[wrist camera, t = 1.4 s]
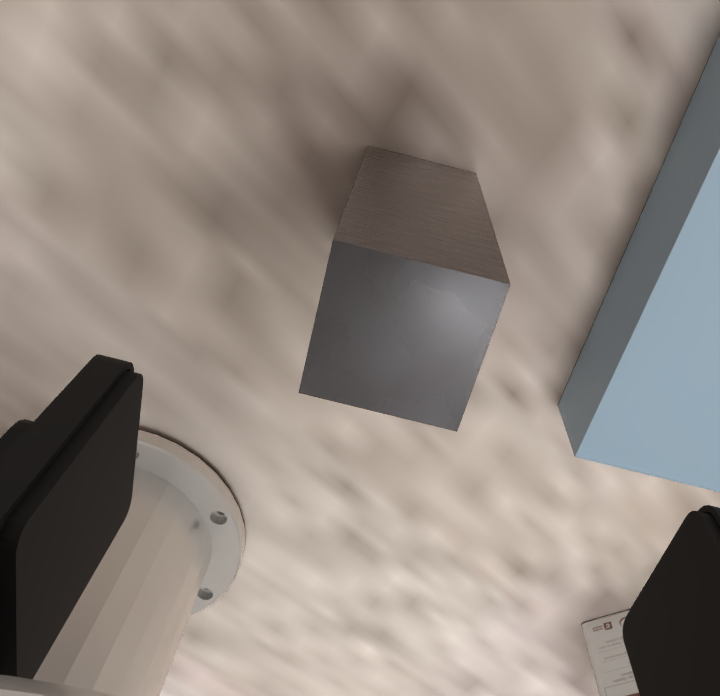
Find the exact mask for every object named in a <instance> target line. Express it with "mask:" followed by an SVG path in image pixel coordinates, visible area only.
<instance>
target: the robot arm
mask: <svg viewBox="0 0 720 696" xmlns="http://www.w3.org/2000/svg"><path fill="white" fill-rule="evenodd" d="M142 389H143V376H142V374H139V373H135V372H134V367H133V364H132V363H131V362H127V361H123V360H119V359H115V358H111V357H107V356H103V355H96V356H94V357H93V358H92V359H91V360H90V361H89V362H88V364H87V365H86V366H85V367H84V368H83V369H82V370H81V371H80V372H79V373H78V374H77V376H76V377H75V378H74V379H73V380H72V381H71V382H70V383H69V384H68V385H67V386H66V387H65V389H64V390H63V391H62V392H61V393H60V394H59V395H58V396H57V397H56V398H55V399H54V401H53V402H52V403H51V404H50V405H49V406H48V407H47V408H46V409H45V410H44V411H43V412H42V414H41V415H40V416H39V417H38V418H37V419H36V420H35V421H34V422H33V421H29V420H25V419H24V420H20V421H18V422H17V423H15V424H14V425H13V426H12V427H11V428H10V429H9V430H8V431H7V432H6V433H5V434H4V435H3V436H2V437H1V438H0V696H159V695H160V692H161V690H162V687H163V684H164V682H165V679H166V676H167V674H168V671H169V669H170V666H171V663H172V661H173V658H174V655H175V653H176V650H177V647H178V645H179V642H180V640H181V637H182V634H183V632H184V629H185V626H186V624H187V621H188V618H189V616H190V615H191V614H194V613H197V612H199V611H201V610H203V609H204V608H206V607H208V606H210V605H211V604H213V603H214V602H215V601H216V600H218V599H219V598H220V597H221V596H222V595H223V594H224V593H225V592H226V591H227V590H228V588H229V587H230V585H231V584H232V582H233V581H234V579H235V577H236V574H237V572H238V569H239V566H240V564H241V561H242V557H243V552H244V547H245V528H244V523H243V520H242V516H241V513H240V509H239V507H238V505H237V503H236V501H235V499H234V497H233V495H232V494H231V492H230V490H229V489H228V487H227V486H226V485H225V484H224V482H223V481H222V480H221V479H220V477H219V476H218V475H217V474H216V473H215V472H214V471H213V470H212V469H211V468H210V467H209V466H207V465H206V464H205V463H204V462H203V461H202V460H201V459H200V458H198V457H197V456H195V455H194V454H192V453H191V452H189V451H188V450H186V449H184V448H183V447H181V446H180V445H178V444H176V443H174V442H171V441H169V440H167V439H165V438H162V437H160V436H158V435H156V434H152V433H149V432H145V431H141V430H139V420H140V409H141V399H142ZM623 640H624V644H625V647H626V651H627V654H628V657H629V661H630V664H631V667H632V671H633V674H634V677H635V681H636V684H637V688H638V691H639V694H640V696H720V508H718V507H714V506H710V505H707V506H703V507H702V508H700V509H699V510H698V511H692V512H690V513H689V514H688V515H687V516H686V518H685V519H684V521H683V523H682V524H681V526H680V528H679V529H678V531H677V533H676V534H675V536H674V538H673V539H672V541H671V543H670V544H669V546H668V548H667V549H666V551H665V553H664V554H663V556H662V558H661V559H660V561H659V563H658V564H657V566H656V568H655V569H654V571H653V573H652V574H651V576H650V578H649V579H648V581H647V583H646V584H645V586H644V587H643V589H642V591H641V592H640V594H639V596H638V597H637V599H636V601H635V602H634V604H633V606H632V607H631V609H630V611H629V612H628V614H627V616H626V618H625V620H624V624H623Z"/></svg>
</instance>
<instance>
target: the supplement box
mask: <svg viewBox="0 0 720 696" xmlns="http://www.w3.org/2000/svg"><path fill="white" fill-rule="evenodd" d="M629 611H630V610H627V611H623V612H620V613H616V614H613V615H609V616H606V617H602V618H598V619H595V620H592V621H588V622H585V623H583V624H582V630H583V633H584V637H585V641H586V645H587V649H588V653H589V656H590V660H591V664H592V667H593V671H594V675H595V679H596V683H597V687H598V691H599V695H600V696H640V694H639V691H638V688H637V684H636V681H635V677H634V674H633V671H632V667H631V664H630V661H629V657H628V654H627V651H626V647H625V644H624V640H623V624H624V620H625V618H626V616H627V614H628V612H629Z"/></svg>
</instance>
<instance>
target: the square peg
mask: <svg viewBox="0 0 720 696" xmlns="http://www.w3.org/2000/svg"><path fill="white" fill-rule="evenodd" d="M509 287H510V282H509V278H508V275H507V272H506V269H505V265H504V262H503V259H502V256H501V252H500V249H499V246H498V243H497V240H496V236H495V233H494V230H493V227H492V223H491V220H490V217H489V214H488V210H487V207H486V204H485V201H484V197H483V194H482V191H481V188H480V185H479V181H478V178H477V175H476V173H473V172H469V171H465V170H461V169H457V168H453V167H449V166H445V165H441V164H438V163H434V162H430V161H426V160H422V159H418V158H414V157H410V156H406V155H403V154H399V153H395V152H391V151H387V150H383V149H379V148H375V147H371V146H368V148H367V151H366V153H365V156H364V159H363V161H362V164H361V167H360V169H359V172H358V175H357V177H356V180H355V183H354V185H353V188H352V191H351V193H350V196H349V199H348V201H347V204H346V207H345V209H344V212H343V215H342V217H341V220H340V223H339V225H338V228H337V231H336V233H335V236H334V239H333V242H332V247H331V251H330V256H329V260H328V265H327V269H326V273H325V278H324V282H323V287H322V291H321V296H320V300H319V305H318V309H317V313H316V318H315V322H314V327H313V331H312V336H311V340H310V344H309V349H308V353H307V358H306V362H305V367H304V371H303V376H302V380H301V384H300V389H299V393H302V394H306V395H310V396H314V397H318V398H322V399H326V400H330V401H334V402H338V403H343V404H347V405H351V406H355V407H359V408H363V409H367V410H371V411H375V412H379V413H383V414H388V415H392V416H396V417H400V418H404V419H408V420H412V421H416V422H420V423H424V424H429V425H433V426H437V427H441V428H445V429H449V430H453V431H457V430H458V428H459V425H460V422H461V419H462V417H463V414H464V411H465V408H466V405H467V403H468V400H469V397H470V394H471V392H472V389H473V386H474V383H475V381H476V378H477V375H478V372H479V370H480V367H481V364H482V361H483V359H484V356H485V353H486V350H487V348H488V345H489V342H490V339H491V336H492V334H493V331H494V328H495V325H496V323H497V320H498V317H499V314H500V312H501V309H502V306H503V303H504V301H505V298H506V295H507V292H508V290H509Z"/></svg>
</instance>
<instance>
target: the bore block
mask: <svg viewBox="0 0 720 696" xmlns="http://www.w3.org/2000/svg"><path fill="white" fill-rule="evenodd" d="M558 407H559V410H560V413H561V416H562V419H563V422H564V425H565V428H566V431H567V434H568V437H569V440H570V443H571V446H572V450H573V453H574V456H575V457H578V458H582V459H586V460H590V461H594V462H598V463H602V464H606V465H610V466H614V467H619V468H623V469H627V470H631V471H635V472H639V473H643V474H647V475H651V476H655V477H659V478H664V479H668V480H672V481H676V482H680V483H684V484H688V485H692V486H696V487H700V488H704V489H709V490H713V491H717V492H720V35H719V37H718V39H717V42H716V44H715V46H714V49H713V51H712V53H711V55H710V58H709V60H708V62H707V65H706V67H705V69H704V71H703V74H702V76H701V78H700V81H699V83H698V85H697V88H696V90H695V92H694V94H693V97H692V99H691V101H690V104H689V106H688V108H687V110H686V113H685V115H684V117H683V120H682V122H681V124H680V127H679V129H678V131H677V133H676V136H675V138H674V140H673V143H672V145H671V147H670V149H669V152H668V154H667V156H666V159H665V161H664V163H663V166H662V168H661V170H660V172H659V175H658V177H657V179H656V182H655V184H654V186H653V188H652V191H651V193H650V195H649V198H648V200H647V202H646V205H645V207H644V209H643V211H642V214H641V216H640V218H639V221H638V223H637V225H636V227H635V230H634V232H633V234H632V237H631V239H630V241H629V244H628V246H627V248H626V250H625V253H624V255H623V257H622V260H621V262H620V264H619V266H618V269H617V271H616V273H615V276H614V278H613V280H612V283H611V285H610V287H609V289H608V292H607V294H606V296H605V299H604V301H603V303H602V305H601V308H600V310H599V312H598V315H597V317H596V319H595V322H594V324H593V326H592V328H591V331H590V333H589V335H588V338H587V340H586V342H585V344H584V347H583V349H582V351H581V354H580V356H579V358H578V361H577V363H576V365H575V367H574V370H573V372H572V374H571V377H570V379H569V381H568V383H567V386H566V388H565V390H564V393H563V395H562V397H561V400H560V402H559V404H558Z"/></svg>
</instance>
